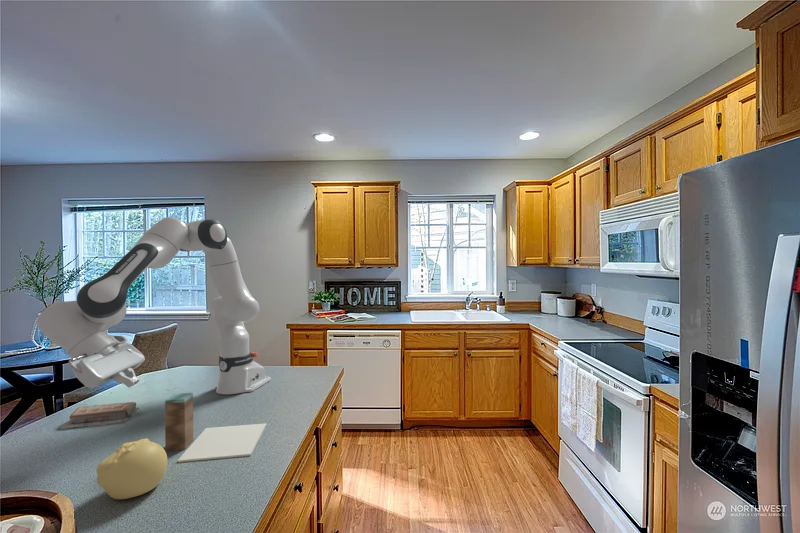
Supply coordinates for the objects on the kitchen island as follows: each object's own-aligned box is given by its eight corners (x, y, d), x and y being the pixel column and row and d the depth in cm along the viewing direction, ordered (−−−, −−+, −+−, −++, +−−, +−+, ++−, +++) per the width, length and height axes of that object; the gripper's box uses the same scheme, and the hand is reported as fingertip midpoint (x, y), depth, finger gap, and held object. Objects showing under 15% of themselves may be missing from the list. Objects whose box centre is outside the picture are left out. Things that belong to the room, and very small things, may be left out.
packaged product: (140, 398, 122) (125, 409, 112) (140, 411, 122) (125, 424, 112) (79, 403, 117) (58, 415, 108) (80, 417, 117) (58, 431, 108)
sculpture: (130, 474, 84) (129, 430, 84) (178, 474, 83) (177, 430, 83) (86, 507, 72) (85, 456, 72) (141, 507, 72) (140, 456, 72)
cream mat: (177, 462, 89) (177, 460, 89) (206, 429, 106) (206, 428, 106) (250, 455, 91) (250, 453, 91) (266, 424, 109) (266, 423, 109)
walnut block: (165, 451, 94) (164, 400, 94) (174, 442, 99) (174, 393, 99) (185, 449, 95) (184, 399, 95) (193, 440, 100) (192, 392, 100)
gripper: (74, 351, 84) (119, 388, 85) (127, 334, 104) (162, 365, 106) (53, 370, 83) (99, 407, 85) (111, 350, 103) (147, 380, 105)
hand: (134, 384), depth 95 cm, fingers closed
